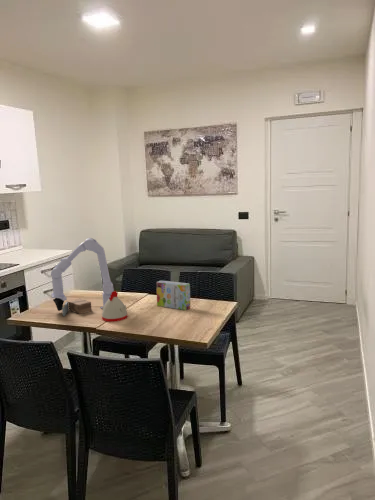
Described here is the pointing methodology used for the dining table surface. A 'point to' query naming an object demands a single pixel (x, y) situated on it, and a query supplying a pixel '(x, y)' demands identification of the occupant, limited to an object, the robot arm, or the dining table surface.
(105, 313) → the kitchen timer
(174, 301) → the snack box
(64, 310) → the door
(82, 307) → the cabinet
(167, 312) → the dining table surface
